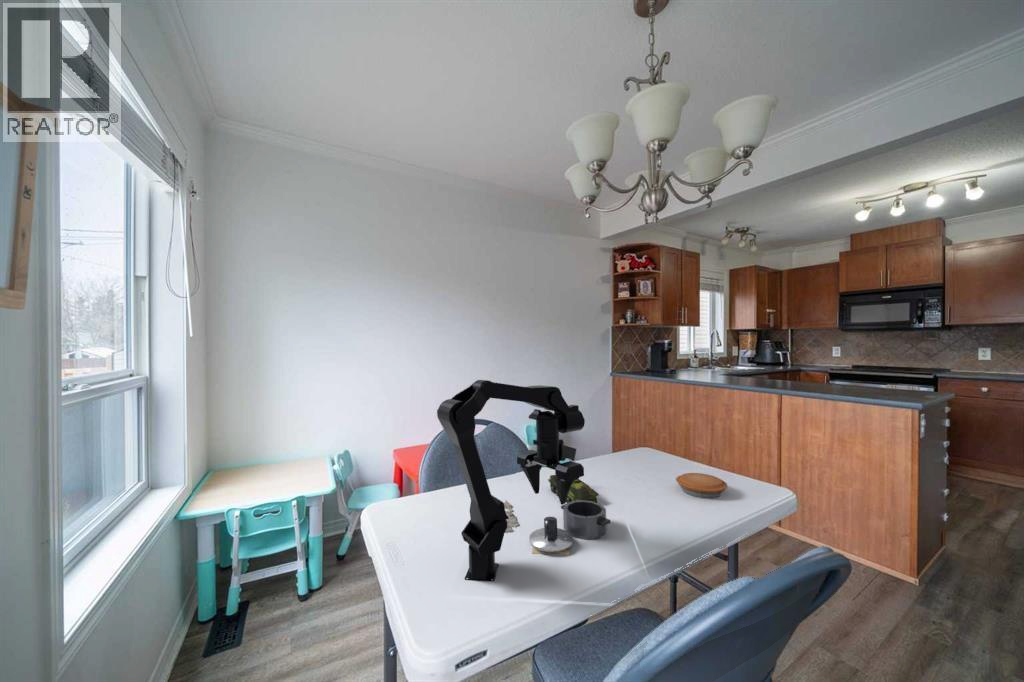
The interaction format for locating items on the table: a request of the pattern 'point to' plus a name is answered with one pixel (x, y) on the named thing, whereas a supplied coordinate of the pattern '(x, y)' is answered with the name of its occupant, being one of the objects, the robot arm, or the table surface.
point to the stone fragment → (510, 518)
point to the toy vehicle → (575, 490)
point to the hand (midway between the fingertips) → (549, 498)
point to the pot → (585, 519)
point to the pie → (701, 485)
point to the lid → (551, 537)
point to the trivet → (564, 552)
